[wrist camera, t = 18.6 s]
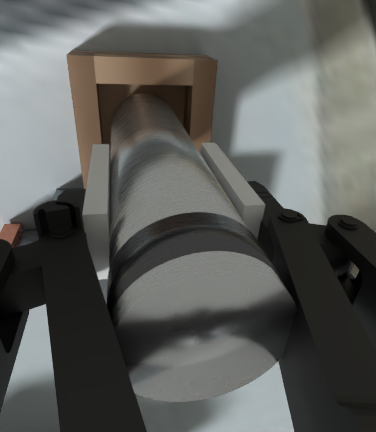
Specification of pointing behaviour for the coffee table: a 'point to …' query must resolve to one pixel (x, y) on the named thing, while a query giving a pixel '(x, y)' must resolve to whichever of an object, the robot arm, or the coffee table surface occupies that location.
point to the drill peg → (184, 266)
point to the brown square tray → (138, 83)
